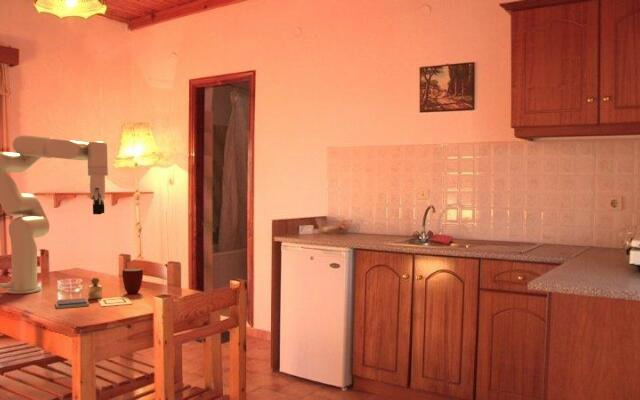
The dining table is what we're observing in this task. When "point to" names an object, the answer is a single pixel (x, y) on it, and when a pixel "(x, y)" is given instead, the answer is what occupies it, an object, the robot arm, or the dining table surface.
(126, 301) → the card
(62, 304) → the ink pad
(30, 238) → the robot arm
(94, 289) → the stamp
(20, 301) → the dining table surface
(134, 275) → the mug
